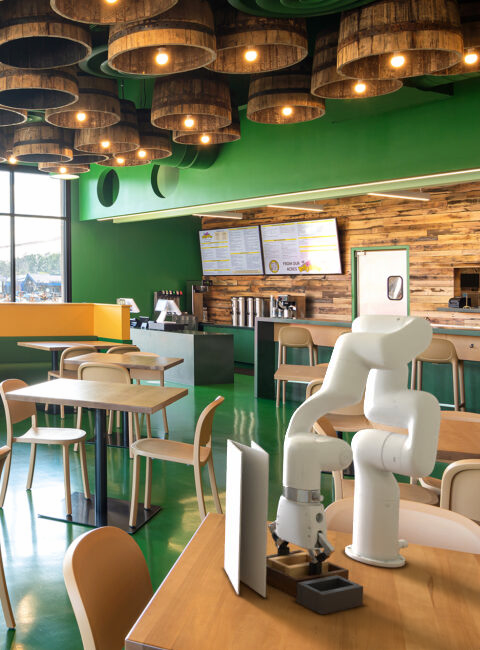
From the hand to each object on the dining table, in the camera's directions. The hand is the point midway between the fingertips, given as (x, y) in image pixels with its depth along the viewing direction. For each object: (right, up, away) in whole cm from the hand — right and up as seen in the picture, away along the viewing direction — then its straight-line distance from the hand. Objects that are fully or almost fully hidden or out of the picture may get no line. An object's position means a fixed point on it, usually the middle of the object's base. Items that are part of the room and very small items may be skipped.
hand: (298, 571), depth 149 cm
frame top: (0, -1, 0) cm, 1 cm away
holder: (0, -2, 0) cm, 2 cm away
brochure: (-13, -2, -3) cm, 14 cm away
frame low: (+1, -2, -12) cm, 12 cm away
